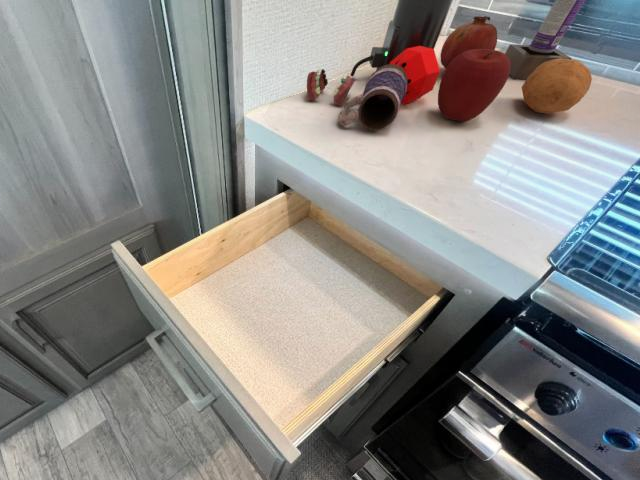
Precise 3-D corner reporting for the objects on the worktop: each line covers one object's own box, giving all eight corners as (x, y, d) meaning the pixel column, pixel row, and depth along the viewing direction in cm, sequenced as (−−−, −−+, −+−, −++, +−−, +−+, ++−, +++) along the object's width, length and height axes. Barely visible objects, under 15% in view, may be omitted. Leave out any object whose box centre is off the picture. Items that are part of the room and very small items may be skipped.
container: (547, 46, 70) (608, -56, 59) (557, 53, 68) (624, -53, 56) (524, 45, 71) (581, -56, 59) (534, 52, 68) (596, -53, 56)
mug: (408, 56, 55) (400, 83, 48) (408, 101, 59) (401, 130, 53) (347, 74, 60) (332, 100, 53) (351, 114, 65) (338, 142, 58)
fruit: (457, 86, 68) (485, 25, 60) (422, 71, 73) (444, 13, 65) (492, 78, 71) (524, 18, 63) (456, 64, 76) (481, 8, 68)
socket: (513, 78, 70) (526, 56, 67) (498, 65, 76) (509, 44, 72) (556, 80, 70) (571, 58, 66) (538, 66, 75) (551, 45, 72)
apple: (416, 115, 59) (443, 48, 51) (445, 101, 62) (474, 37, 55) (465, 134, 54) (503, 63, 46) (493, 118, 58) (533, 50, 50)
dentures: (353, 77, 57) (305, 71, 60) (346, 107, 61) (301, 100, 64) (360, 69, 61) (314, 64, 64) (353, 97, 65) (310, 91, 67)
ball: (374, 71, 62) (409, 41, 55) (400, 64, 65) (437, 35, 58) (387, 112, 63) (423, 88, 56) (412, 104, 66) (450, 80, 59)
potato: (568, 104, 62) (602, 58, 56) (570, 128, 56) (608, 78, 50) (514, 95, 65) (541, 49, 59) (510, 116, 59) (540, 68, 53)
